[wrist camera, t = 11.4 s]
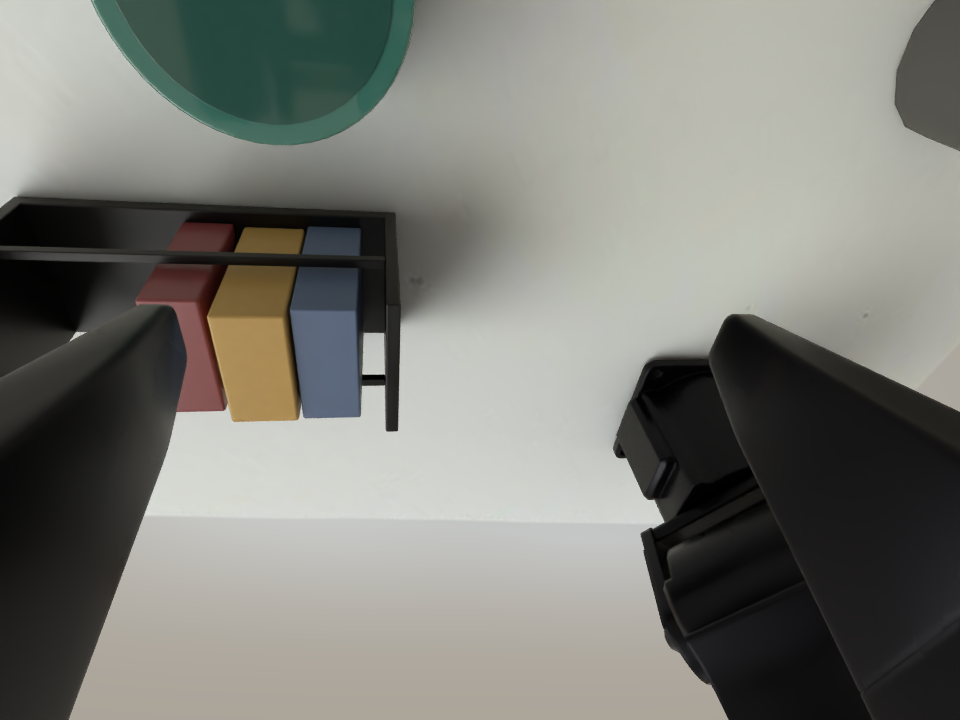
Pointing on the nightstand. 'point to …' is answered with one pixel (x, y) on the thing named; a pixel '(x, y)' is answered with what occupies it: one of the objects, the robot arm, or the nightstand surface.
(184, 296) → the books
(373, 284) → the rack
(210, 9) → the green glass jar
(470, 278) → the nightstand surface
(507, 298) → the nightstand surface
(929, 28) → the candle holder
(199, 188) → the nightstand surface
